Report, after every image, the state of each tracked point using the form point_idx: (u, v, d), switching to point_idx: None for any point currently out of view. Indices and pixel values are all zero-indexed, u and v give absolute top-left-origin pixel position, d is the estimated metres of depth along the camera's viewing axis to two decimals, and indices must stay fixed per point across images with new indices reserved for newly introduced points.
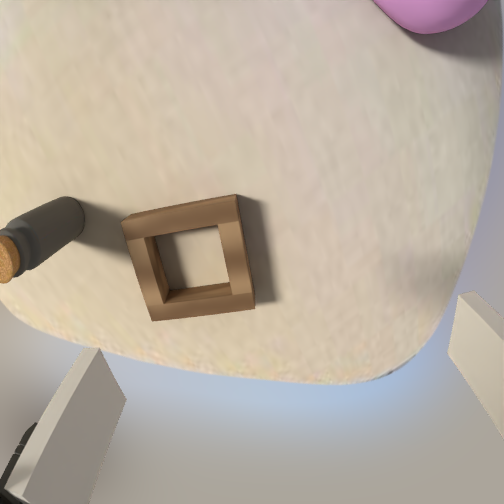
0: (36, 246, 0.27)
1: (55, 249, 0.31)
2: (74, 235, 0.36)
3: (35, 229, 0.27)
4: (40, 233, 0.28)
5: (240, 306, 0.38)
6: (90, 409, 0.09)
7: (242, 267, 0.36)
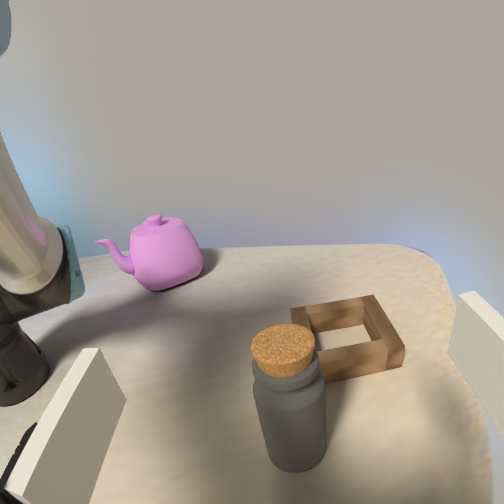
0: None
1: None
2: None
3: None
4: None
5: (372, 300, 0.45)
6: (90, 409, 0.09)
7: (339, 302, 0.47)
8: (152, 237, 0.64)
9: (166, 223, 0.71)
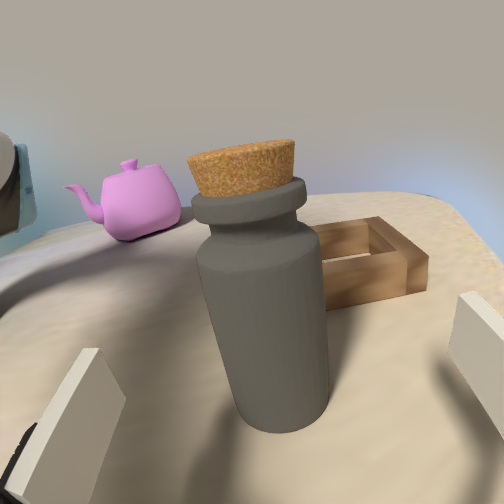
0: None
1: None
2: None
3: None
4: None
5: (378, 220, 0.36)
6: (90, 409, 0.09)
7: (337, 223, 0.38)
8: (123, 178, 0.55)
9: (141, 168, 0.61)
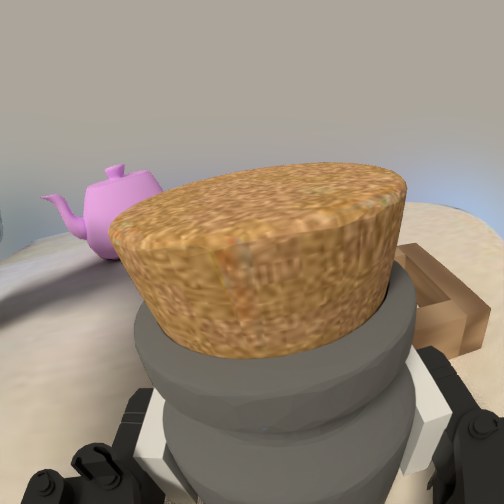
0: None
1: None
2: None
3: None
4: None
5: (417, 249, 0.28)
6: None
7: None
8: (106, 187, 0.46)
9: (129, 175, 0.53)
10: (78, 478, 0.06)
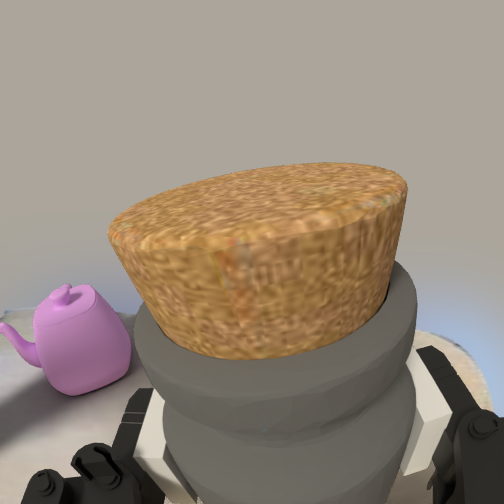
0: None
1: None
2: None
3: None
4: None
5: None
6: None
7: None
8: (49, 330, 0.37)
9: (76, 301, 0.44)
10: (78, 478, 0.06)
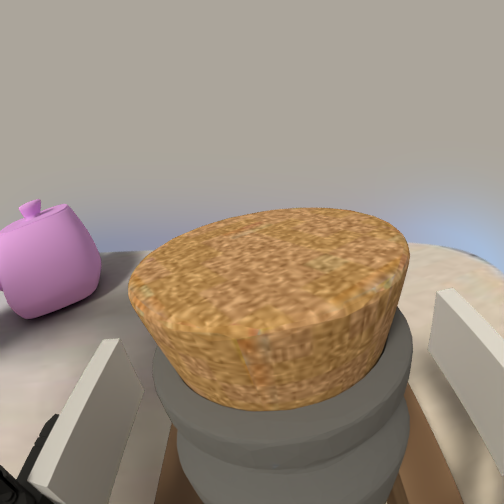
0: None
1: None
2: None
3: None
4: None
5: None
6: (111, 399, 0.09)
7: None
8: (11, 235, 0.32)
9: (46, 213, 0.39)
10: None
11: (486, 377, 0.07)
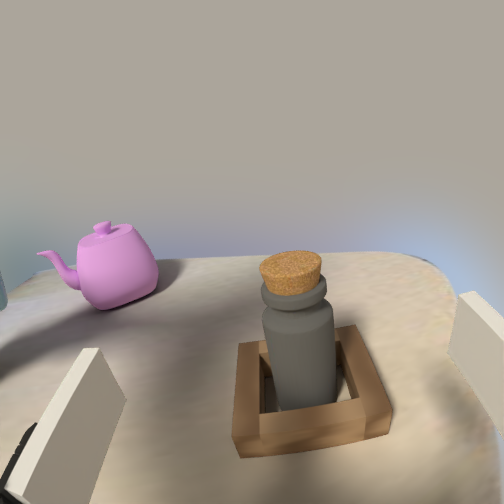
0: None
1: None
2: None
3: None
4: None
5: (353, 333, 0.32)
6: (90, 409, 0.09)
7: None
8: (94, 248, 0.52)
9: (115, 231, 0.58)
10: None
11: None
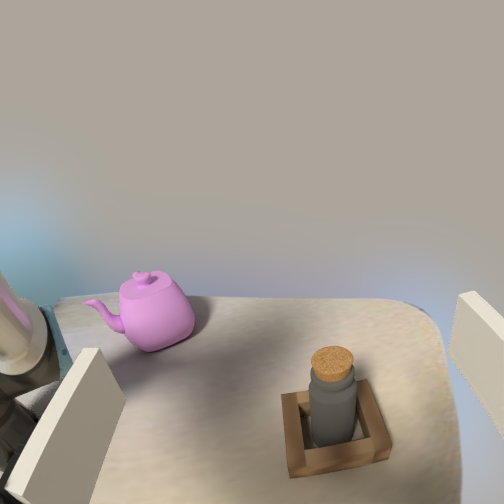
0: None
1: None
2: None
3: None
4: None
5: (365, 387, 0.42)
6: (90, 409, 0.09)
7: None
8: (140, 301, 0.61)
9: (155, 281, 0.67)
10: None
11: None
